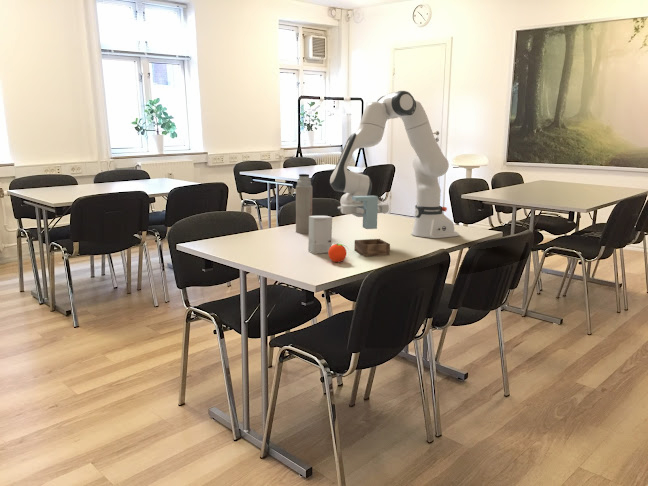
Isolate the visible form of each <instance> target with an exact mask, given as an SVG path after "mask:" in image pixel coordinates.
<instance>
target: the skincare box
mask: <svg viewBox="0 0 648 486" xmlns="http://www.w3.org/2000/svg"><path fill="white" fill-rule="evenodd" d="M332 230H333V217H332V216H328V215H312V216H309V233H308V249H307V250H308V252H310V253H311V254H313V255H317V254H318V255H319V254H326V253H328V252H329V249H330V247H331V246H332V240H333V239H332V238H333V237H332V233H333V231H332Z"/></svg>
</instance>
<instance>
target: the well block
mask: <svg viewBox="0 0 648 486" xmlns="http://www.w3.org/2000/svg"><path fill="white" fill-rule="evenodd" d="M390 250H391V244H390V243H388V242H387V241H385V240H383V239H381V238H373V239H372V238H370V239H369V238H368V239H366V238H365V239H355V240H354V252H356V253H358V255H360V256H362V257H365V258H366V257H380V256H381V257H382V256H390V254H391V253H390V252H391V251H390Z"/></svg>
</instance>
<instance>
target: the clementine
mask: <svg viewBox="0 0 648 486" xmlns="http://www.w3.org/2000/svg"><path fill="white" fill-rule="evenodd" d="M346 248H347V249H349V248H348V246H347V245H344V244H342V243H335V244H332V245H331V247H330V249H329V252H328V258H329V259H330V261H332V262H334V263H340V262H343V261H344V260H345V259H346V258H347V250H346Z"/></svg>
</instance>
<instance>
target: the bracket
mask: <svg viewBox="0 0 648 486" xmlns="http://www.w3.org/2000/svg"><path fill="white" fill-rule="evenodd" d="M378 199H379V197H378V195H370V196H352V200H354V201H363V209H366V213H364V214H363V217H362V228H363V229H366V230H377V229H378V214H377V212H378Z"/></svg>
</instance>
